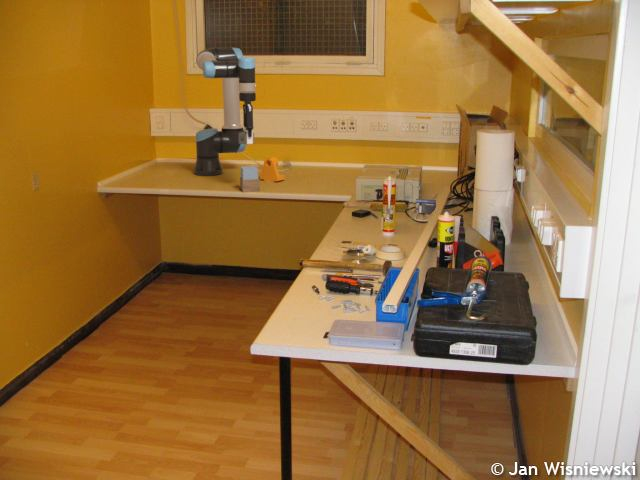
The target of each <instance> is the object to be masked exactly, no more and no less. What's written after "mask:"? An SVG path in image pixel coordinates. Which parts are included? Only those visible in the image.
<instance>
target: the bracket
mask: <svg viewBox="0 0 640 480" xmlns="http://www.w3.org/2000/svg"><path fill="white" fill-rule="evenodd" d="M278 166H279V160H278V158H277V157H276V156H272V157H268V158H265V159H264V162H263V165H262V168H261V171H260V175H259V177H260V178H259V179H260V180H264V182H268V183H276V182H280V181H284V180H286V176H285V174H280V173H279V170H278Z"/></svg>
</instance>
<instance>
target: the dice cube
mask: <svg viewBox="0 0 640 480" xmlns="http://www.w3.org/2000/svg"><path fill="white" fill-rule="evenodd" d="M239 144H245V145H246V146H247V145H248V144H247V132H240V133H239ZM253 144H255V132H253Z"/></svg>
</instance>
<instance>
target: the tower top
mask: <svg viewBox="0 0 640 480" xmlns="http://www.w3.org/2000/svg"><path fill="white" fill-rule="evenodd" d="M258 171H259V169H258V167H257V166H256V165H251V166H250V165H249V166H248V165H247V166H246V165H245V166H240V177H241V178H242V179H243V180H251V179H258V178H259V172H258Z"/></svg>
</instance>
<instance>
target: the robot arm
mask: <svg viewBox="0 0 640 480" xmlns="http://www.w3.org/2000/svg"><path fill="white" fill-rule="evenodd" d="M195 61H196V62H195V63H196V65H197V67H198V68H199V69H200V70H201V71H202V76H203V77H204V78H205V79H222V81H221V82H222V101H223V102H222V103H223V125H222V126H221V130H220V131H219V129H218V128H214V127H212V128H206V129H202V130H201V129H200V130H198V131H197V132H196V133H195V147H196V161H195V164H194V168H193V172H194V173H193V174H194V175H195V176H203V177H204V176H205V177H207V176H210V177H211V176H217V175H218V176H219V175H222V174H223V166H222V163H221V160H220V158H219V157H220V154H231V153H232V154H233V153H235V154H237V153H243V152H244V151H245V150H246V147H247V145H252V144H253V133H254V131H253V130H254V115H253V113H254V110H253V109H254V107H253V105H252V102H255V101H256V100H257V97H256V96H257V95H256V87H257V84H256V62H255V58H254V57H250V56H249V57H248V56H247V57H245V56H244V54H243V52H242V50H241V48H238V47H209V48H205V49H203V50H201V51H200V52H199V53H198V54H197V56H196V59H195ZM240 102H244V103H243V105H242V111H243V113H242V115H243V122H242V123H243V125H242V124H241V105H240V104H241V103H240ZM240 132H247V145H245V144H239V133H240Z"/></svg>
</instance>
